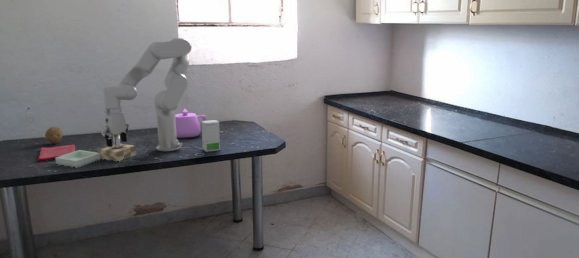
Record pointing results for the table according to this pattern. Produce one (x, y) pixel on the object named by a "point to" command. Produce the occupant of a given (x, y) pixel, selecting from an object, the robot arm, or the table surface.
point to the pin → (117, 141)
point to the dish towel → (55, 152)
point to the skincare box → (210, 135)
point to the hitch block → (117, 152)
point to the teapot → (188, 124)
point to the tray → (77, 158)
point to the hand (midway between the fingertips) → (117, 143)
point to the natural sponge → (54, 135)
